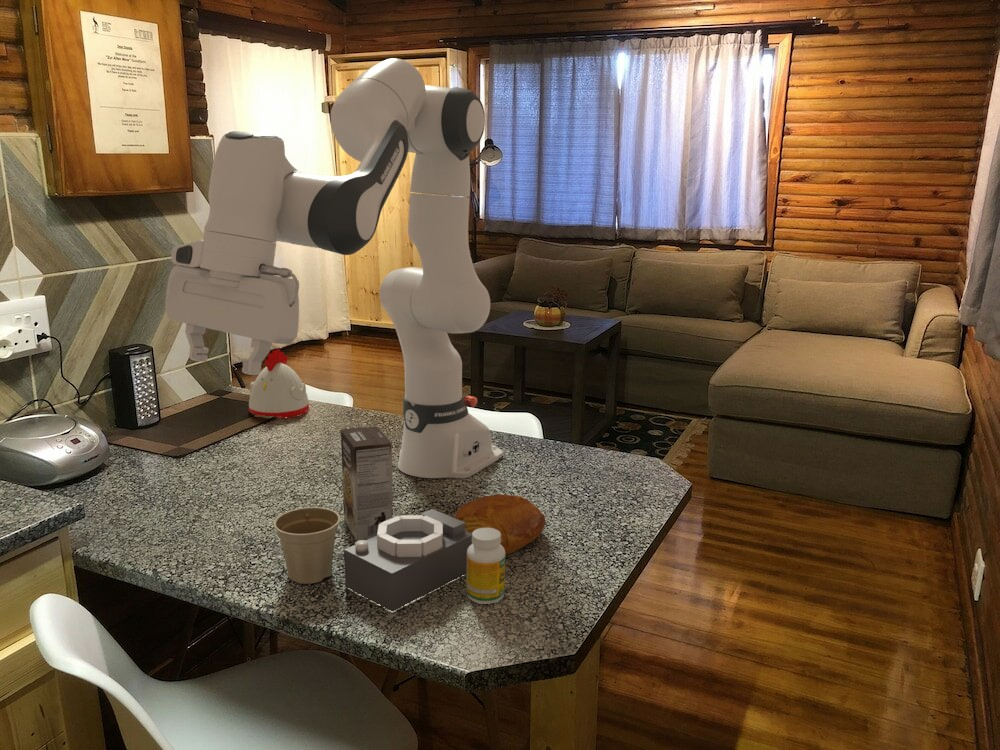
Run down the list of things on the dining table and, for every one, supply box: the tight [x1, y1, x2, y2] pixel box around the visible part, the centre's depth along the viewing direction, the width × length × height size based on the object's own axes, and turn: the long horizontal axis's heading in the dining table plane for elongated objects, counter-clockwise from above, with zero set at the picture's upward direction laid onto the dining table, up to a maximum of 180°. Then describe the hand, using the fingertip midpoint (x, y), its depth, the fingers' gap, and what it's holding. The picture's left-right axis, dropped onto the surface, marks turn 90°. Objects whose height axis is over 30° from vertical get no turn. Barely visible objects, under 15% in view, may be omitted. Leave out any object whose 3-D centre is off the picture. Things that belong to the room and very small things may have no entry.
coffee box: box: [340, 425, 393, 542], centre depth 133 cm, size 9×6×16 cm
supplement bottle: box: [466, 528, 506, 605], centre depth 113 cm, size 5×5×10 cm
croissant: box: [453, 493, 546, 556], centre depth 131 cm, size 14×16×8 cm
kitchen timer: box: [248, 348, 310, 418], centre depth 193 cm, size 14×14×15 cm
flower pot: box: [273, 506, 341, 585], centre depth 118 cm, size 9×9×9 cm
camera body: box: [343, 508, 472, 611], centre depth 117 cm, size 16×10×8 cm, turn 139°
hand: (223, 367), depth 104 cm, fingers open, 8 cm apart
